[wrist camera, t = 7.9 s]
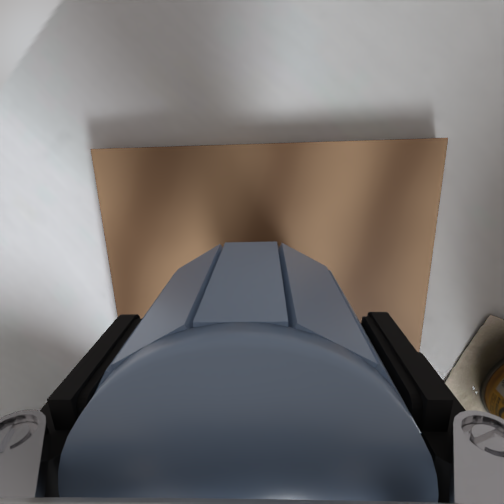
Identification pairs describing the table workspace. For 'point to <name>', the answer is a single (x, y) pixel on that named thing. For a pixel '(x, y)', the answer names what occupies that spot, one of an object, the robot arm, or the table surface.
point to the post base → (278, 214)
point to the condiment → (481, 370)
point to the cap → (248, 394)
